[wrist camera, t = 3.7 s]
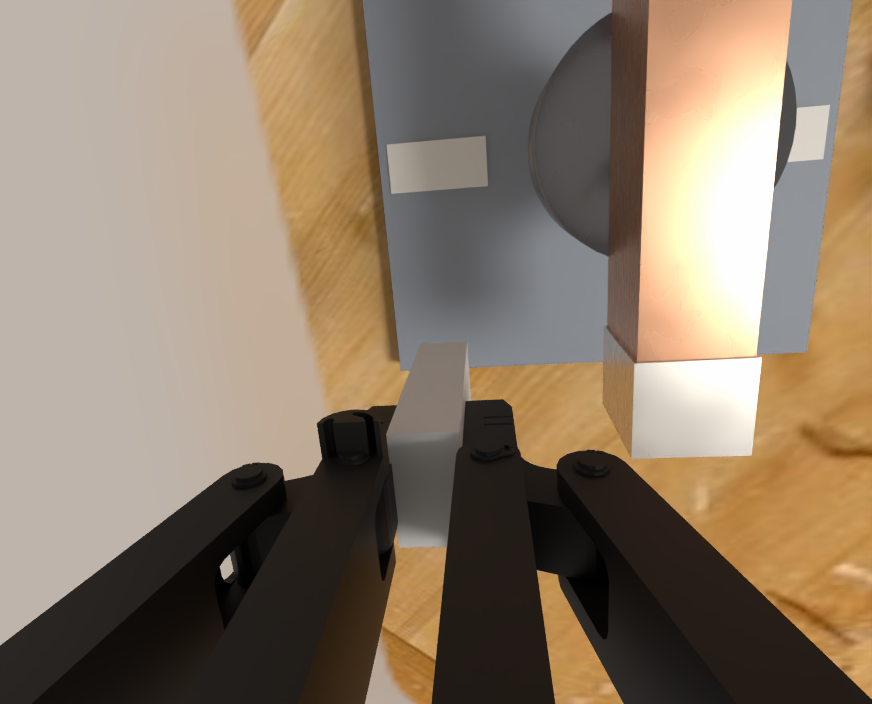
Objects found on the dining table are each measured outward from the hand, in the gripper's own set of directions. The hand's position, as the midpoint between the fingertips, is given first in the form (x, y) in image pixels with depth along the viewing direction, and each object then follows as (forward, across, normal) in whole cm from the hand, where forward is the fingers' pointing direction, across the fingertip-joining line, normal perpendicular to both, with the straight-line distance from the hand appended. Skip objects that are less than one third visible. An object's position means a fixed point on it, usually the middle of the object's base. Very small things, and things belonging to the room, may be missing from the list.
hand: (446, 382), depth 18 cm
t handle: (+6, +7, +7) cm, 11 cm away
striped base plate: (+14, +7, +7) cm, 18 cm away
